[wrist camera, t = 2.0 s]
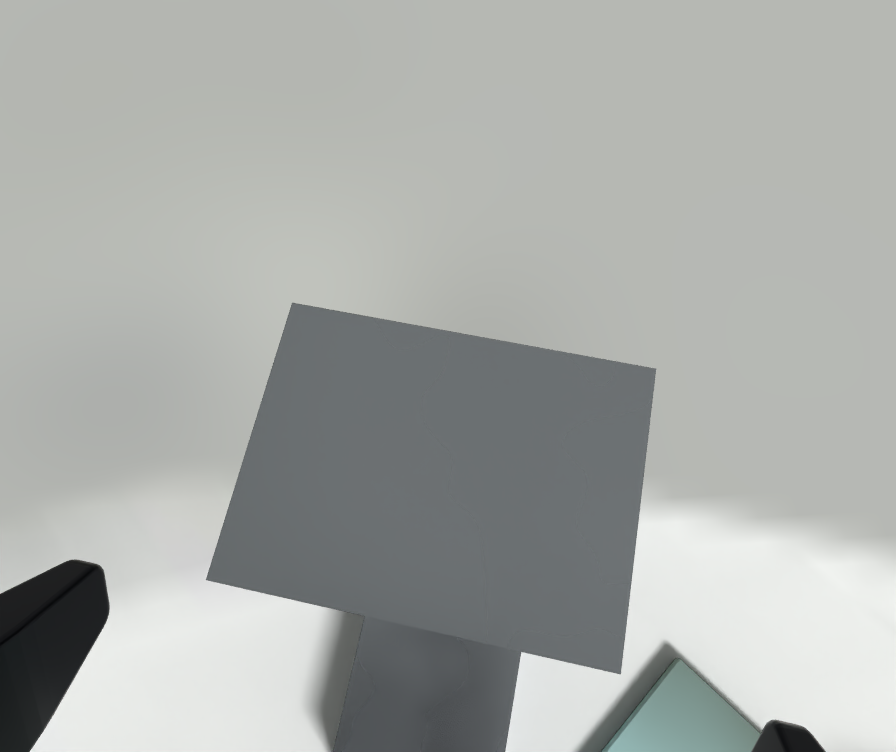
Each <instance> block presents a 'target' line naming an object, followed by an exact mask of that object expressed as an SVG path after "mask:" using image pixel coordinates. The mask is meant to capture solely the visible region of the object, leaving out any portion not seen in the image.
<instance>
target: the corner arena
mask: <svg viewBox="0 0 896 752" xmlns="http://www.w3.org/2000/svg"><path fill="white" fill-rule="evenodd" d="M759 736H760V733H759V732H758V731H757V730H756V729H755V728H754V727H753V726H752V725H750V724H749V723H748V722H747V721H746V720H745V719H744V718H743V717H742V716H741V715H740V714H739V713H738V712H737V711H735V710H734V709H733V708H732V707H731V706H730V705H729V704H728V703H727V702H726V701H725V700H724V699H723V698H722V697H720V696H719V695H718V694H717V693H716V692H715V691H714V690H713V689H712V688H711V687H710V686H709V685H708V684H707V683H705V682H704V681H703V680H702V679H701V678H700V677H699V676H698V675H697V674H696V673H695V672H694V671H693V670H692V669H690V668H689V667H688V666H687V665H686V664H685V663H684V662H683V661H682V660H681V659H678V658H675V660H674V661H673V662H672V663H671V665H670V666H669V667H668V668H667V670H666V671H665V672H664V673H663V675H662V676H661V677H660V678H659V680H658V681H657V682H656V683H655V685H654V686H653V687H652V688H651V690H650V691H649V692H648V694H647V695H646V696H645V697H644V699H643V700H642V701H641V702H640V704H639V705H638V706H637V707H636V709H635V710H634V711H633V712H632V714H631V715H630V716H629V717H628V719H627V720H626V721H625V723H624V724H623V725H622V726H621V728H620V729H619V730H618V731H617V733H616V734H615V735H614V736H613V738H612V739H611V740H610V741H609V743H608V744H607V745H606V746H605V748H604V749H603V750H602V751H601V752H751V751H752V749H753V747H754V745H755V743H756V741H757V740H758V738H759Z"/></svg>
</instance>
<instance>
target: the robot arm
mask: <svg viewBox="0 0 896 752" xmlns="http://www.w3.org/2000/svg"><path fill="white" fill-rule="evenodd" d="M109 608H110V606H109V599H108V593H107V586H106V580H105V574H104V570H103V569H102V567H101V566H100V565H98V564H94V563H90V562H86V561H81V560H69V561H66V562H64V563H62V564H60V565H58V566H56V567H54V568H52V569H50V570H48V571H46V572H44V573H42V574H40V575H38V576H36V577H34V578H32V579H29V580H27V581H25V582H23V583H21V584H19V585H17V586H15V587H13V588H11V589H9V590H7V591H5V592H3V593H1V594H0V752H30V750H31V749H32V747H33V746H34V744H35V743H36V741H37V740H38V738H39V737H40V735H41V734H42V732H43V731H44V729H45V728H46V726H47V724H48V723H49V721H50V719H51V718H52V716H53V715H54V713H55V711H56V709H57V708H58V706H59V704H60V702H61V701H62V699H63V697H64V695H65V694H66V692H67V690H68V688H69V687H70V685H71V683H72V681H73V680H74V678H75V676H76V674H77V673H78V671H79V669H80V667H81V666H82V664H83V662H84V660H85V659H86V657H87V655H88V653H89V652H90V650H91V648H92V646H93V645H94V643H95V641H96V639H97V638H98V636H99V634H100V632H101V631H102V629H103V627H104V625H105V623H106V621H107V618H108V615H109ZM751 752H826V751H825V750H824V749H823V748H822V746H821V745H820V744H819V743H818V741H817V740H816V739H815V738H814V736H813V735H812V734H811V733H810V732H809V731H808V730H807V729H806V728H804V727H802V726H800V725H796V724H792V723H788V722H783V721H779V720H771V721H769V722H767V724H766V725H765V727H764V729H763V730H762V732H761V734H760V736H759V738H758V740H757V741H756V743H755V745H754V747H753V749H752V751H751Z"/></svg>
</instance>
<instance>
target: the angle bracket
mask: <svg viewBox="0 0 896 752" xmlns="http://www.w3.org/2000/svg"><path fill="white" fill-rule="evenodd" d="M655 374H656V369H654V368H649V367H643V366H638V365H632V364H627V363H621V362H616V361H610V360H605V359H599V358H594V357H588V356H583V355H577V354H572V353H566V352H560V351H554V350H550V349H544V348H539V347H533V346H528V345H522V344H517V343H511V342H506V341H500V340H495V339H489V338H484V337H478V336H472V335H467V334H461V333H456V332H451V331H445V330H439V329H433V328H428V327H423V326H417V325H411V324H406V323H401V322H395V321H390V320H384V319H378V318H373V317H368V316H362V315H357V314H351V313H346V312H340V311H335V310H329V309H324V308H318V307H313V306H307V305H302V304H296V303H292V305H291V309H290V312H289V315H288V318H287V321H286V325H285V328H284V331H283V334H282V337H281V341H280V344H279V347H278V350H277V353H276V357H275V360H274V363H273V366H272V369H271V373H270V376H269V379H268V382H267V385H266V389H265V392H264V395H263V398H262V402H261V405H260V408H259V411H258V414H257V418H256V421H255V424H254V427H253V430H252V434H251V437H250V440H249V443H248V447H247V450H246V453H245V456H244V459H243V462H242V466H241V469H240V472H239V475H238V479H237V482H236V485H235V488H234V491H233V495H232V498H231V501H230V504H229V507H228V511H227V514H226V517H225V520H224V523H223V527H222V530H221V533H220V536H219V539H218V543H217V546H216V549H215V552H214V556H213V559H212V562H211V565H210V568H209V572H208V575H207V578H206V580H208V581H213V582H217V583H221V584H226V585H230V586H235V587H239V588H243V589H248V590H252V591H257V592H261V593H265V594H270V595H274V596H279V597H283V598H287V599H292V600H296V601H301V602H305V603H309V604H314V605H318V606H323V607H327V608H331V609H336V610H340V611H345V612H349V613H353V614H358V615H362V616H365V617H364V621H363V626H362V630H361V634H360V639H359V643H358V647H357V651H356V656H355V660H354V664H353V668H352V673H351V677H350V681H349V685H348V690H347V694H346V698H345V702H344V707H343V711H342V715H341V719H340V724H339V728H338V732H337V737H336V741H335V745H334V749H333V752H505V749H506V743H507V737H508V730H509V724H510V718H511V712H512V706H513V699H514V693H515V687H516V681H517V675H518V668H519V662H520V656H521V652H525V653H529V654H534V655H538V656H542V657H547V658H551V659H556V660H560V661H564V662H569V663H573V664H578V665H582V666H586V667H591V668H595V669H600V670H604V671H608V672H613V673H617V674H621V667H622V658H623V650H624V641H625V632H626V624H627V615H628V606H629V598H630V589H631V581H632V572H633V563H634V555H635V546H636V538H637V529H638V520H639V512H640V503H641V494H642V486H643V477H644V468H645V459H646V451H647V443H648V433H649V425H650V417H651V408H652V399H653V391H654V382H655Z"/></svg>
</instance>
